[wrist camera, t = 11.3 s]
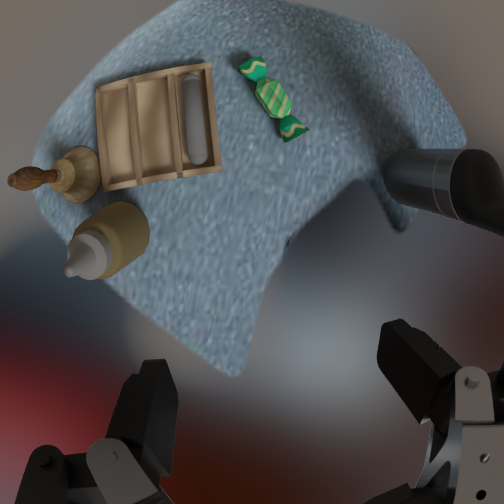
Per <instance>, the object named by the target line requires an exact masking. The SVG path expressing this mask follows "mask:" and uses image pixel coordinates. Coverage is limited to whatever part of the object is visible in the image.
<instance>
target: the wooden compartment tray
mask: <svg viewBox="0 0 504 504" xmlns="http://www.w3.org/2000/svg"><path fill="white" fill-rule="evenodd" d="M187 74H195V75H197V76H198V77H199V79H200V86H201V97H202V107H203V117H204V127H205V137H206V146H207V159H206V161H205V162H204V163H202V164H199V165H196V164H193V163H192V162H191V161H190V160H189V157H188V149H187V140H186V130H185V120H184V109H183V98H182V85H181V81H182V79H183V77H184V76H185V75H187ZM95 95H96V123H97V138H98V150H99V159H100V168H101V176H102V184H103V191H104V192H108V191H113V190H117V189H122V188H127V187H132V186H137V185H142V184H147V183H152V182H158V181H163V180H169V179H175V178H181V177H188V176H194V175H201V174H208V173H216V172H222V164H221V155H220V146H219V137H218V128H217V118H216V109H215V99H214V89H213V78H212V68H211V62H208V63H200V64H193V65H187V66H181V67H175V68H170V69H164V70H160V71H155V72H150V73H146V74H142V75H138V76H134V77H130V78H126V79H123V80H119V81H116V82H112V83H109V84H106V85H103V86H99V87H96V88H95Z"/></svg>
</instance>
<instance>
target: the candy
mask: <svg viewBox="0 0 504 504" xmlns="http://www.w3.org/2000/svg"><path fill="white" fill-rule="evenodd" d="M238 72H240V73H241V74H242V75H244V76H245V77H246V78H248V79H250V80H252V81H254V82H256V83H257V87H256V91H255V95H256V97H257V98H258V100H259V101H260V103H261V104H262V106H263V107H264V109H265V110H266V112H267V113H268V115H269V117H274V118H278V119H280V133H281V136H282V138H283V140H284V143H285V142H288V141H290V140H291V139H293V138H295V137H297V136H299V135H301V134H303V133H304V132H306V131H308V130H309V129H308V128H307V127H306V126H305V125H304V124H303V123H301V122H300V121H299V120H298V119H296V118H294V117H293V116H291V115H289V113H290V110H291V106H292V102H291V101H290V99H289V98H288V96H287V95H286V93H285V92H284V90H283V88H282V87H281V86H280V84H279V83H278V81H277V80H273V79H268V78H266V65H265V63H264V61H263V59H262V57H261V56H259V57H255V58H252V59H249V60H248V61H246V62H245V63H243V64H242V65H240V66H239V67H238Z"/></svg>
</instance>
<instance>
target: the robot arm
mask: <svg viewBox="0 0 504 504" xmlns="http://www.w3.org/2000/svg"><path fill="white" fill-rule="evenodd" d="M385 184H386V188H387V190H388V192H389V194H390V196H391V197H392V198H393V199H394V200H395V201H396V202H398V203H400V204H403V205H406V206H410V207H413V208H417V209H421V210H425V211H428V212H432V213H435V214H438V215H441V216H445V217H448V218H452V219H455V220H458V221H461V222H464V223H467V224H471V225H474V226H477V227H479V228H482V229H485V230H488V231H490V232H493V233H495V234H498V235H500V236H502V237H504V181H503V177H502V173H501V170H500V168H499V166H498V164H497V162H496V161H495V159H494V158H493V157H492V156H491V155H490V154H489V153H487V152H485V151H483V150H477V149H401V150H398V151H396V152H395V153H393V154H392V155H391V157H390V158H389V160H388V162H387V164H386V168H385ZM377 363H378V366H379V368H380V370H381V371H382V373H383V374H384V375H385V377H386V378H387V380H388V381H389V382H390V384H391V385H392V386H393V388H394V389H395V391H396V392H397V393H398V395H399V396H400V397H401V399H402V400H403V401H404V403H405V404H406V406H407V407H408V409H409V410H410V412H411V413H412V414H413V416H414V417H415V419H416V420H417V421H418V423H419V424H422V423H424V422H426V421H428V420H430V419H431V421H432V422H433V424H432V426H431V429H430V437H429V443H428V449H427V454H426V460H425V465H424V469H423V472H422V474H421V476H420V478H419V480H418V482H417V484H416V487H415V488H413V489H410V487H409V485H408V484H407V483H405V484H403V485H401V486H399V487H397V488H395V489H393V490H390V491H388V492H386V493H383V494H381V495H378V496H376V497H373V498H372V499H370V500H369V501H367V502H366V503H364V504H504V362H503V364H502V367H501V369H500V370H498V371H494V372H491V373H486V372H485V371H483V370H482V369H480V368H477V367H473V366H467V367H463V368H462V367H461V366H460V365H459V364H458V363H457V362H456V361H455V360H454V359H453V358H452V357H451V356H450V355H449V354H448V353H447V352H446V351H444V350H443V349H442V348H441V347H439V345H438V344H437V343H436V342H435V341H434V342H433V339H432V338H430V337H429V336H428V335H427V334H426V333H425V332H423V331H421V330H418V329H417V328H414V327H413V328H412V327H411V326H410V325H409V324H408V323H407V322H405V321H404V320H403V319H397V320H393V321H390V322H386V323H384V324H383V325H382V327H381V333H380V339H379V345H378V351H377ZM178 404H179V401H178V393H177V389H176V386H175V384H174V381H173V378H172V375H171V373H170V370H169V367H168V364H167V362H166V360H165V359H154V360H153V359H152V360H144V361H143V363H142V366H141V369H140V372H139V374H132V375H131V376H130V377H129V378H128V379H127V380H126V381H125V383H124V384H123V387H122V390H121V393H120V396H119V398H118V401H117V405H116V407H115V409H114V412H113V415H112V418H111V422H110V425H109V427H108V431H107V434H106V437H105V439H101V440H98V441H96V442H95V443H93V444H92V445H91V446H90V448H89V449H88V451H87V453H79V454H70V455H64V454H62V452H61V451H60V450H59V449H58V448H57V447H55V446H52V445H43V446H40V447H38V448H36V449H35V450H34V451H33V452H32V454H31V456H30V458H29V461H28V463H27V466H26V469H25V472H24V475H23V478H22V481H21V484H20V487H19V490H18V494H17V497H16V501H15V504H174V503H173V502H172V501H171V499H170V498H169V497H168V496H167V495H166V493H165V492H164V491H163V490H162V488H161V487H160V486H159V485H160V476H171V472H172V460H173V450H174V449H173V448H174V440H175V430H176V421H177V413H178Z"/></svg>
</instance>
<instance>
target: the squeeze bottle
mask: <svg viewBox="0 0 504 504" xmlns="http://www.w3.org/2000/svg"><path fill="white" fill-rule="evenodd" d="M149 237H150V229H149V225H148V221H147V218H146V217H145V215H144V214H143V212H142V211H141V210H140V209H139V208H137V207H136V206H134V205H133V204H131V203H128V202H122V201H117V202H114V203H111V204H108V205H106V206H105V207H103V208H102V209H100V210H99V211H98V212H96V213H95V214H93V215H92V216H90V217H89V218H88V219H86V220H85V221H83V222H82V223H81V224H80V225H79V226H78V227H77V228H76V230H75V232H74V234H73V237H72V240H71V241H70V243H69V245H68V248H67V258H68V260H67V262H66V263H65V265H64V267H63V272H64V274H65V275H66V276H67V277H73V276H76V275H79V276H80V277H81V278H83V279H87V280H93V279H97V278H98V279H104V278H109V277H111V276H113V275H114V274H115V273H117V272H118V271H120V270H121V269H122V268H124V267H125V266H127V265H128V264H129V263H131V262H132V261H134V260H135V259H136V258H138V257H139V256H140V255H142V254H143V253H144V251H145V249H146V247H147V245H148V244H149Z"/></svg>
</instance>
